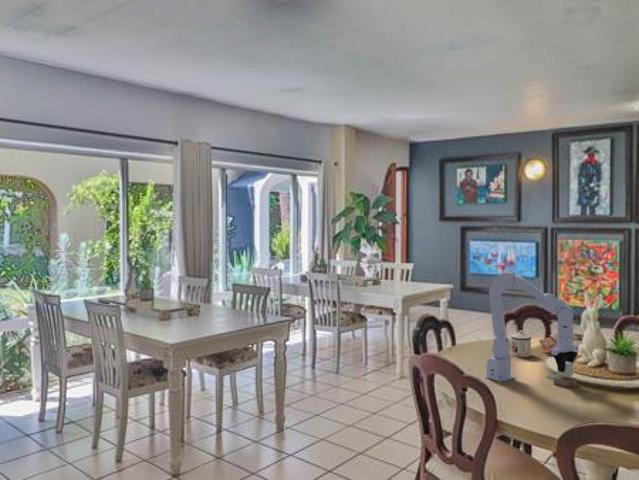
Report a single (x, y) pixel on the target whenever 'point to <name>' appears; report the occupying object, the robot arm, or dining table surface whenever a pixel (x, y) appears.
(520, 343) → the teacup with lid
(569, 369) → the sage block
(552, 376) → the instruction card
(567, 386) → the walnut slab
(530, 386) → the dining table surface
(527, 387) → the dining table surface
